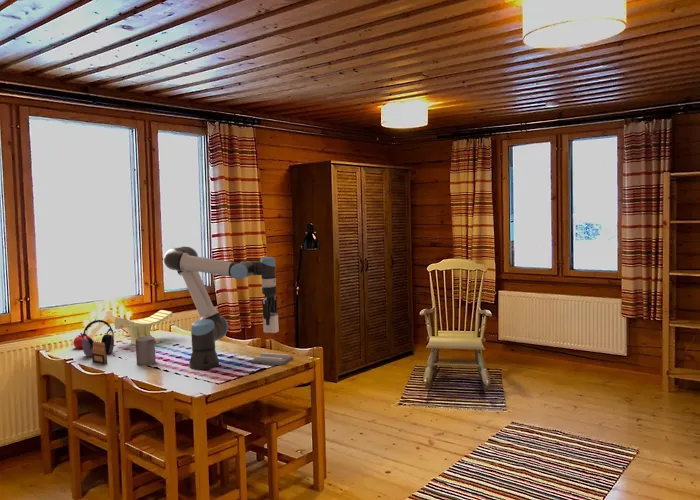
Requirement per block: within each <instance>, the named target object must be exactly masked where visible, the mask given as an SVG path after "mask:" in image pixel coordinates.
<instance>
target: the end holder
mask: <svg viewBox="0 0 700 500" xmlns="http://www.w3.org/2000/svg"><path fill="white" fill-rule="evenodd" d="M293 358H294V357H293V356H292V355H290V354H289V353H287V354H286V353H274V352H273V353H271V352H261V353H260V355H258V356H257V355H256V356H254V357H253V359H251V360H250V364H258V363H261V365H271V364H272V365H274V366H282V365H284V364H285V363H287V362H289V361H291V360H292V359H293Z"/></svg>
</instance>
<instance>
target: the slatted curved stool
mask: <svg viewBox="0 0 700 500" xmlns="http://www.w3.org/2000/svg"><path fill="white" fill-rule="evenodd" d="M170 317H173V311H169V310H164V309H160V310H158V311H157V312H155V313H153V314H152V315H150V316H149V317H145V318H142V319H138V320H128V319H126V318H123V317H122V318H121V317H118V316H117V317H115V318H114V329H115V330H121V329H125V328H127V330H128V332H129V336H130V344H133V345H135V346H136V338H139V337H145V336H152V334H151V329H152V327H153V325H156V324H161V322H162V323H163V322H164V321H165V320H168V319H169V318H170ZM154 340H155V344H160V343H162V342H161V340H160V339H159V338H157V337H155V338H154Z"/></svg>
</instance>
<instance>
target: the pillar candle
mask: <svg viewBox="0 0 700 500" xmlns="http://www.w3.org/2000/svg"><path fill="white" fill-rule="evenodd" d="M154 338H156V337H154V336H153V335H151V336H145V337H139V338H136V345H135V350H136V351H135V356H136V358H135V359H136V365H137V366H150V365H153V364H156V362H157V361H156V345H155V344H156V343H155V340H154Z"/></svg>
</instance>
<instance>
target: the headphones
mask: <svg viewBox="0 0 700 500" xmlns="http://www.w3.org/2000/svg"><path fill="white" fill-rule="evenodd" d="M96 323H103V324H105V325H106V326H107V327H108V329H107V332H106V334H104V335H103V336H102V338H101V341H100V343H101V342H102V343H103V342H104V344H105V349H106V354H110V353H113V352H114V347H115V337H114V330H113V328H112V325H110V323H108V322H107V321H106V320H102V319H97V320H95V319H94V320H93V321H91V322H89V323H87V325H86V326H85V328H84V330H83V332H82V339H83V336H84V335H85V336H86V337H87V339H86V338H85V339H83V340H82V347H83V348H82V350H83V354H84V355H85V356H87V357H89V358H90V357H92V353H93V341H94V340H93V338H88V336H89V335H88V334H86V331H88V329H89V328H90V327H91V326H93V325H94V324H96ZM109 332H111V334H110V333H109Z"/></svg>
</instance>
